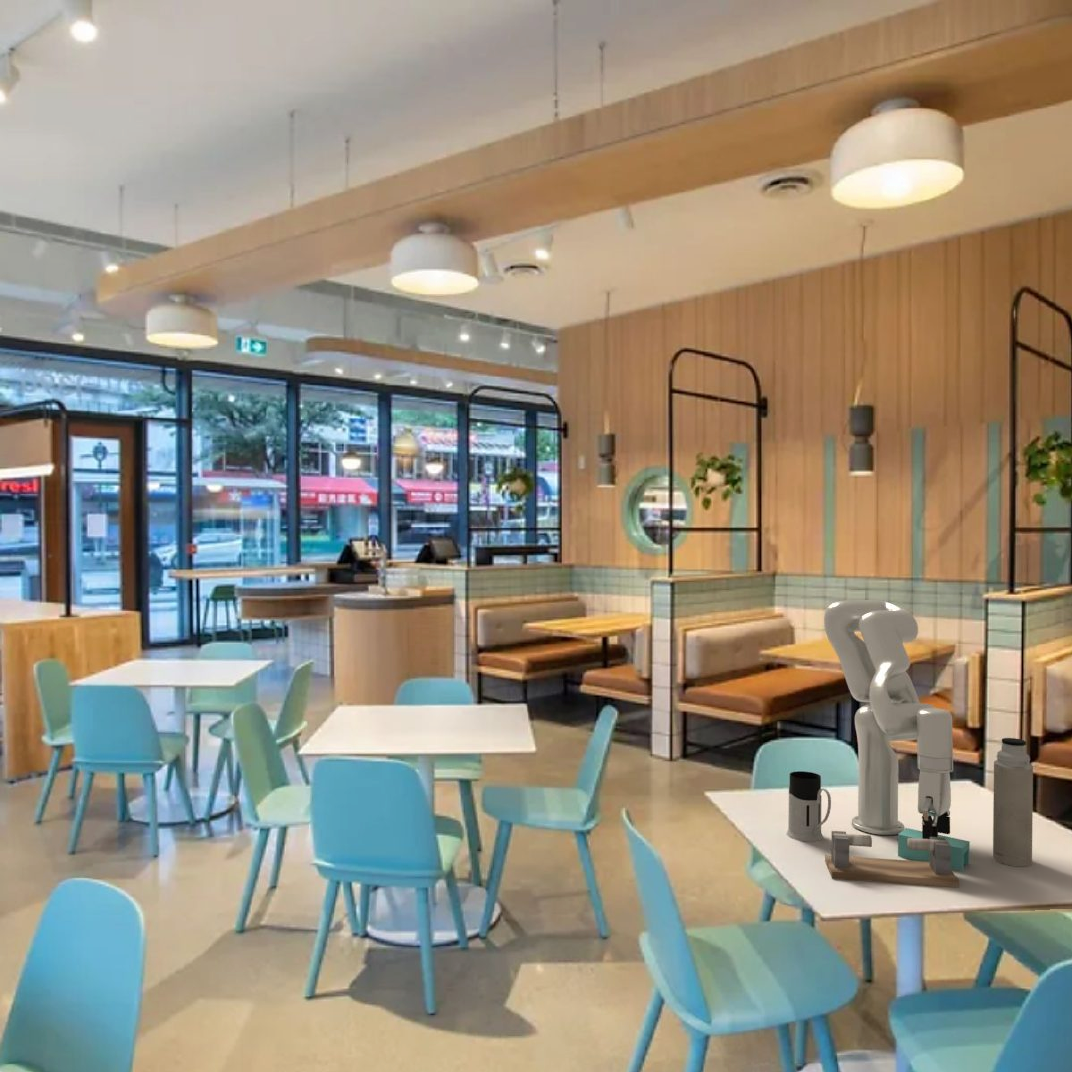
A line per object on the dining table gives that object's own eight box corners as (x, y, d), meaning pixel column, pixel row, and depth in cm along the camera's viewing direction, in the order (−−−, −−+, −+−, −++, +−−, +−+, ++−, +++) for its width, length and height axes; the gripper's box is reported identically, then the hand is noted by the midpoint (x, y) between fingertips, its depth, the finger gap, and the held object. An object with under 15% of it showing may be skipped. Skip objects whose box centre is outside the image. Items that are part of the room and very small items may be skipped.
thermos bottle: (986, 853, 208) (987, 735, 208) (1019, 853, 209) (1020, 735, 209) (1005, 866, 200) (1006, 743, 200) (1039, 866, 201) (1040, 743, 201)
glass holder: (808, 827, 226) (809, 769, 226) (844, 846, 213) (845, 784, 212) (779, 831, 223) (779, 772, 223) (814, 850, 210) (814, 787, 210)
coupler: (906, 849, 211) (906, 827, 211) (969, 864, 202) (969, 841, 202) (897, 856, 207) (898, 834, 207) (962, 871, 198) (962, 848, 198)
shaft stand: (824, 861, 203) (825, 825, 203) (945, 869, 199) (945, 833, 199) (831, 878, 193) (832, 840, 193) (958, 887, 189) (959, 848, 189)
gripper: (929, 754, 213) (930, 826, 213) (906, 767, 200) (907, 843, 199) (962, 759, 208) (964, 832, 208) (941, 772, 195) (943, 850, 194)
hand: (936, 837), depth 204 cm, fingers open, 9 cm apart
